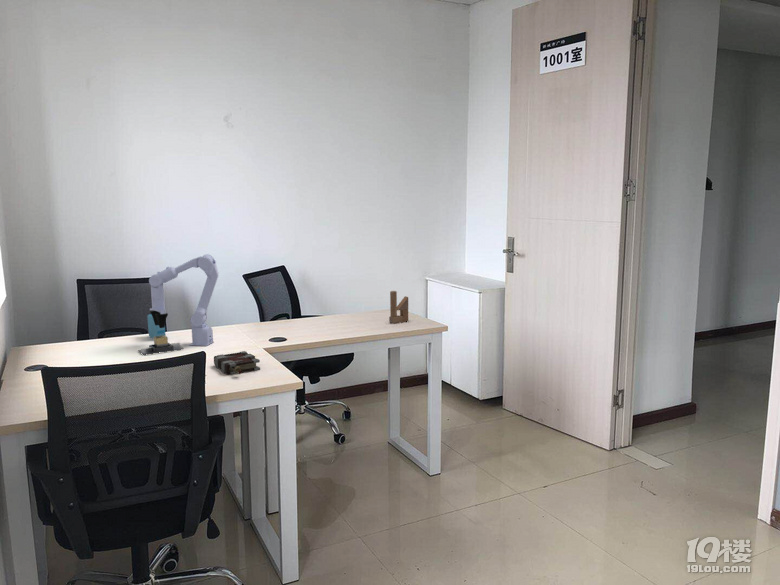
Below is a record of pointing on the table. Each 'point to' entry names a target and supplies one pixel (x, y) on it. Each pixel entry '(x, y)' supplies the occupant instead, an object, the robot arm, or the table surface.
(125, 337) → the table surface
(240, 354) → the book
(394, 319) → the brown wooden bracket
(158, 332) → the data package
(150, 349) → the shaft rig
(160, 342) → the coupler
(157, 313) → the robot arm
